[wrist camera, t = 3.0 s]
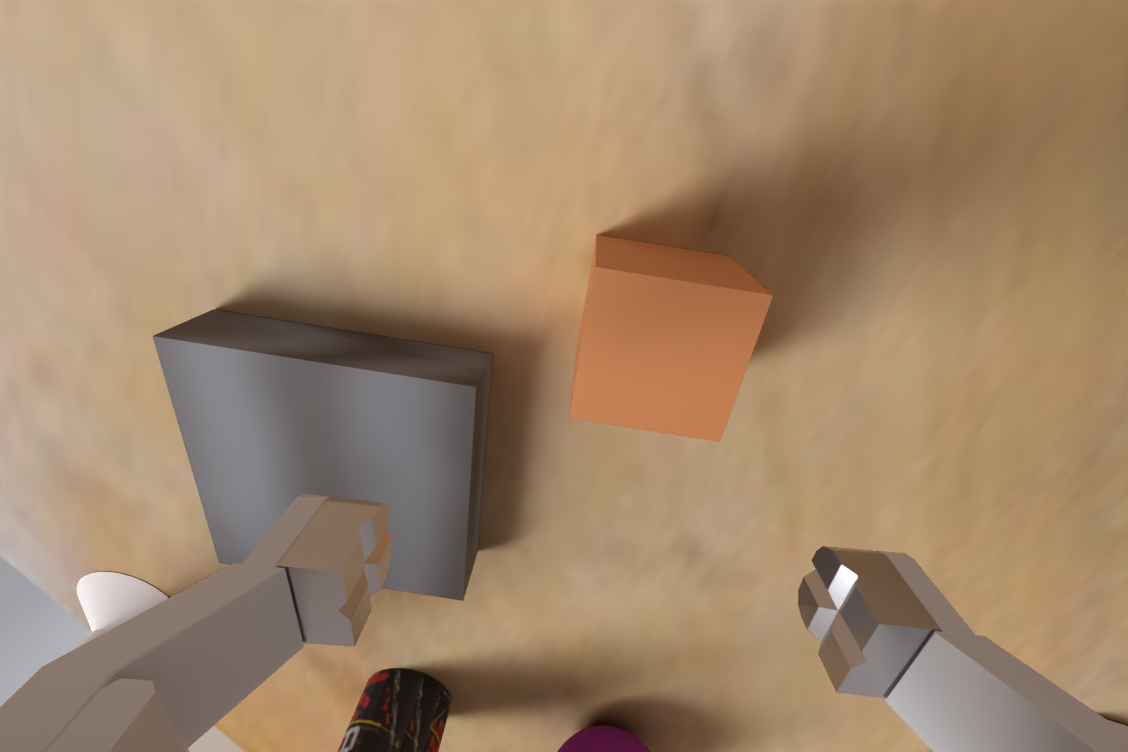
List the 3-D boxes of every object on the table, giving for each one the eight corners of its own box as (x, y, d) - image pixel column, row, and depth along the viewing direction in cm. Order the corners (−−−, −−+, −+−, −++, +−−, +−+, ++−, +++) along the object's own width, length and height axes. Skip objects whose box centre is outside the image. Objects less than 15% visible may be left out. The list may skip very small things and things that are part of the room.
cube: (728, 255, 17) (773, 295, 13) (692, 373, 20) (719, 441, 15) (596, 234, 17) (595, 266, 13) (576, 354, 19) (569, 417, 15)
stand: (493, 353, 20) (476, 387, 17) (477, 551, 25) (463, 600, 22) (213, 309, 20) (152, 336, 17) (259, 517, 25) (219, 562, 22)
